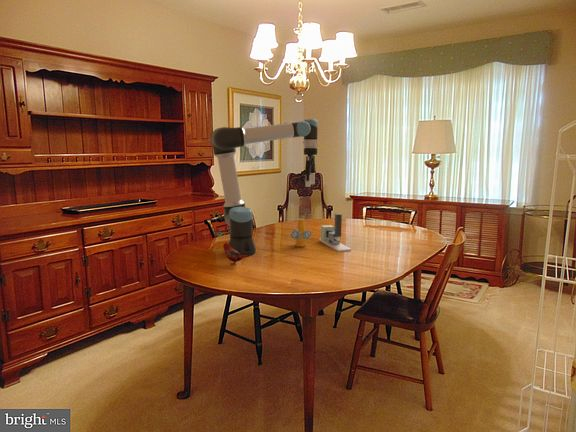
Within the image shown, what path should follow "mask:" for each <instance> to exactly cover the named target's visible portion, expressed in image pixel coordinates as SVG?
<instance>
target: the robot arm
mask: <svg viewBox="0 0 576 432" xmlns="http://www.w3.org/2000/svg"><path fill="white" fill-rule="evenodd" d="M318 124H319V123H318V120H317V119H315V118H306V119H304V120H301V121H296V122H284V123H280V124H271V125H263V126H255V127H246V128H243V127H241V126H240V127H228V126H227V127H225V126H223V127H217V128H216V129H214V130H213V132H211V134H210V144H211V146H212V150H213V156H214V157H216V158H217V161H218V167H219V173H220V179H221V183H222V191H223V196H224V201H225V202H224V204H223V205H222V206H223V213H224V214H223V218H224V221H225V223H226V224H227V225H228V226H229V241H228V244H229V245H230V246H231V247H232V248H233V249H234V250H236V251H238V252H239V253H240V254H241V255H246V256H249V257H250V256H253V255H255V254H256V253H257V247H256V244H255V242H254V239H253V211H252V209H251V208H249V207H246V204H245V201H244V200H243V199H242V197H241V190H240V184H239V179H238V173H237V168H236V167H237V166H236V159H235V154H236V153H237V150H236V149H237V148H240V147H245V146H246V145H249V144H255V143H256V144H257V143H263V142H269V141H271V142H272V141H276V140H284V139H285V140H286V139H293V138H299V137H303V141H302V143H303V147H304V148H303V155H305V156H306V157H305V158H306V159H305V167H304V173H303V175H304V176H305V184H304V186H305V187H306V188H311V185H315V183H316V181H315V180H316V178H315V177H316V176H315V175H316V173H317V171H316V159H315V158H316V156H317V155H318V146H319V145H318V135H319V134H318V133H319V131H318V130H319V128H318V127H319V125H318ZM315 155H316V156H315Z"/></svg>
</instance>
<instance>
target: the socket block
mask: <svg viewBox="0 0 576 432" xmlns="http://www.w3.org/2000/svg"><path fill="white" fill-rule="evenodd" d="M334 229H335V225H334V226H333V225H331V224H329V225H328V224H326V225H325V224H324V225H320V239H322V240H323V241H328V235H326V231H329V232H333V231H334Z"/></svg>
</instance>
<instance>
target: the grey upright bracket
mask: <svg viewBox="0 0 576 432" xmlns="http://www.w3.org/2000/svg"><path fill="white" fill-rule="evenodd" d="M342 217H343V215H342V213H335V214H334V227H335V229H334V239H335V240H337V241H341V237H342ZM328 232H329V231H326V235H328Z"/></svg>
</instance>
